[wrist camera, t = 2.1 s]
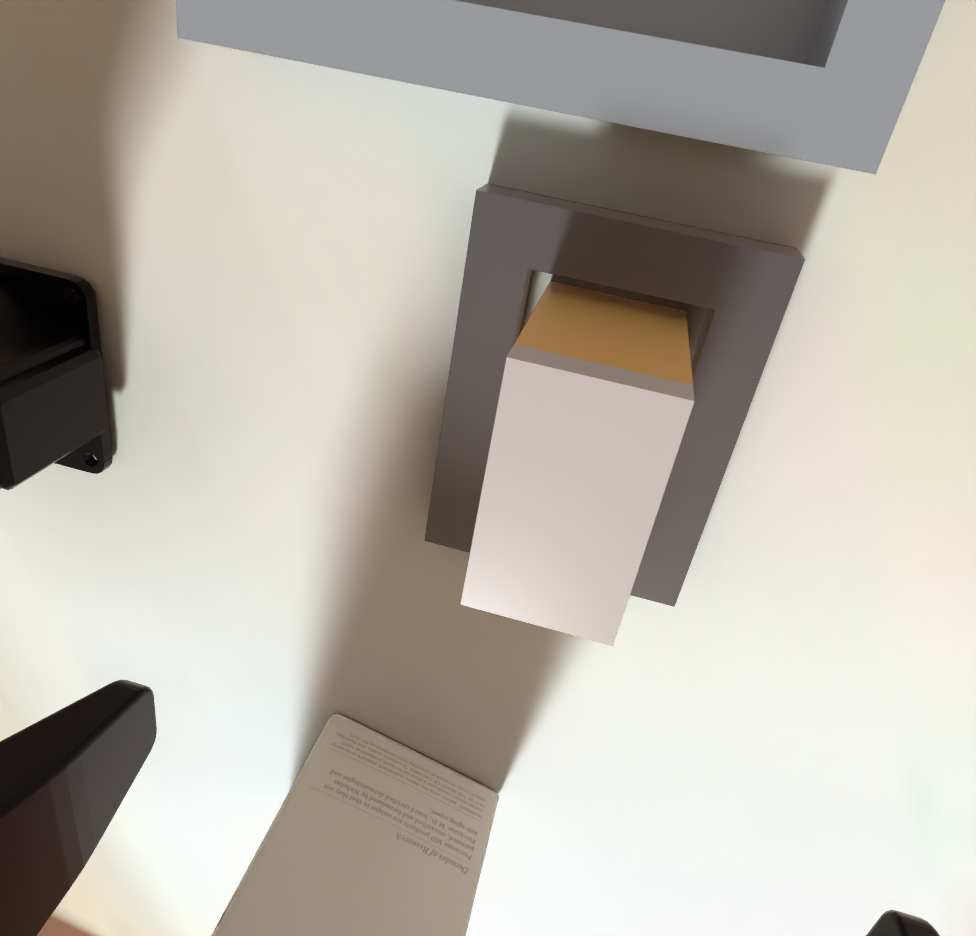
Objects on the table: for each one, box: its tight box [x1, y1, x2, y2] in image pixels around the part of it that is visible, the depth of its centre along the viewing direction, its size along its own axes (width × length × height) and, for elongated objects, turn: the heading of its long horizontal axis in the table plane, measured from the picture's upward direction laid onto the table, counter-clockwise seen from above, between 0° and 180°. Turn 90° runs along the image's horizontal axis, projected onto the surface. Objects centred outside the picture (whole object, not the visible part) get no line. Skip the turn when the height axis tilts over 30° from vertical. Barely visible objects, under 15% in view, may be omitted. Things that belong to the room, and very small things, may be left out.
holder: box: [425, 184, 805, 606], centre depth 19 cm, size 8×10×1 cm
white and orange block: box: [460, 281, 694, 646], centre depth 17 cm, size 4×6×6 cm, turn 172°
